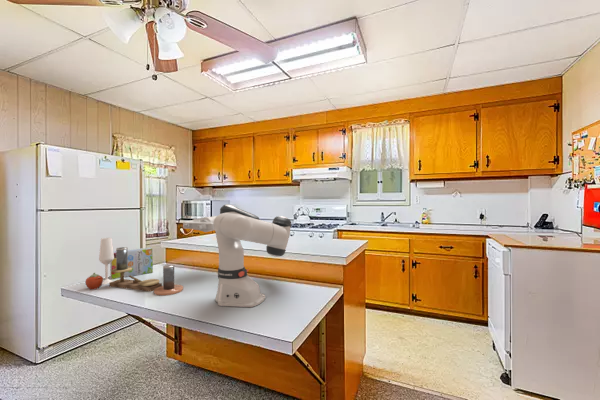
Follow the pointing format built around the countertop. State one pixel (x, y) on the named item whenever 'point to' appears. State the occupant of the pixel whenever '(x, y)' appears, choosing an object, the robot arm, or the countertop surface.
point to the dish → (168, 292)
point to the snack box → (135, 262)
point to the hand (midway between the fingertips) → (191, 226)
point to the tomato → (94, 281)
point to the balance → (134, 282)
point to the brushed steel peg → (168, 277)
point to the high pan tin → (122, 258)
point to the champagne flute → (106, 256)
